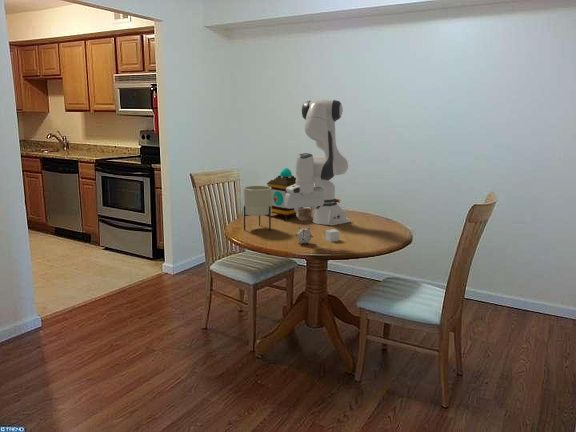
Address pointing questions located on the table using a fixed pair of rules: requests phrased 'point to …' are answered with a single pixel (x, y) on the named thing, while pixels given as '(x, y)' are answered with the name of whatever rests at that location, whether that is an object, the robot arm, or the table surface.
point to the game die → (304, 235)
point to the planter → (258, 202)
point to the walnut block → (305, 214)
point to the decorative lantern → (281, 192)
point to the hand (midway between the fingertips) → (304, 216)
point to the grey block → (332, 235)
